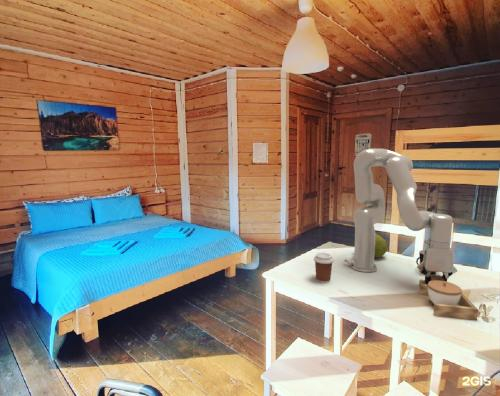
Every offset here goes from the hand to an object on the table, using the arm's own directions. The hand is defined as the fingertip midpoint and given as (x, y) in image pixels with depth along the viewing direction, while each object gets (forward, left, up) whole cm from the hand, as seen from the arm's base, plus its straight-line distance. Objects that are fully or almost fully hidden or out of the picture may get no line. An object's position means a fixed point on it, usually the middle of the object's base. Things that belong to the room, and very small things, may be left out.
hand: (435, 284), depth 122 cm
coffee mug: (+2, +20, -3) cm, 20 cm away
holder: (0, -8, -3) cm, 9 cm away
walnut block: (0, 0, -2) cm, 2 cm away
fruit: (-20, +38, -3) cm, 43 cm away
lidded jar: (-1, -12, -3) cm, 13 cm away
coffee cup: (-46, +1, -3) cm, 46 cm away
